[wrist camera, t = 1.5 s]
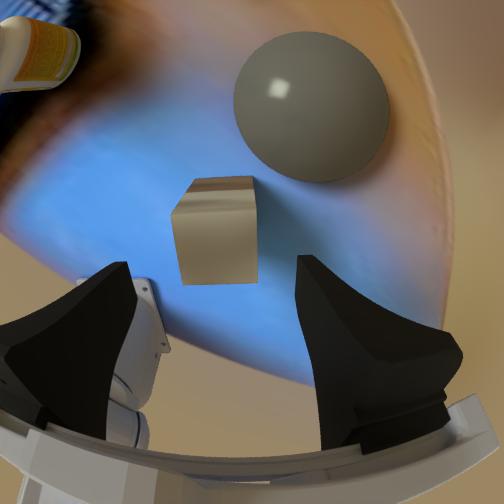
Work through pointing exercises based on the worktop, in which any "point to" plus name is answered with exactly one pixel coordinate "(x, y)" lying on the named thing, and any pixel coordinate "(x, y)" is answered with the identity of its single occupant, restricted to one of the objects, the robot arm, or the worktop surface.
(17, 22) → the supplement bottle
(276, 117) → the stand
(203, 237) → the block
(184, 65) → the worktop surface
